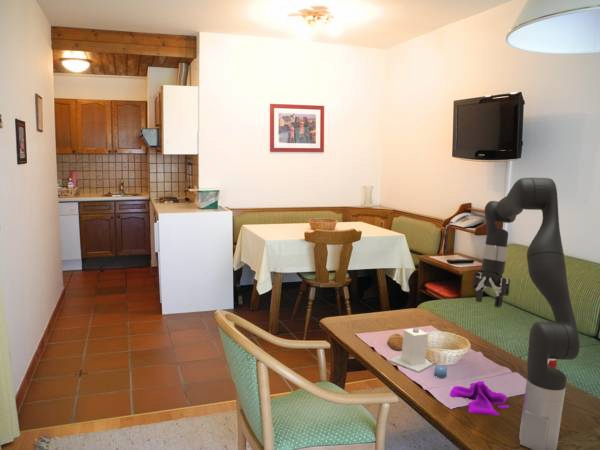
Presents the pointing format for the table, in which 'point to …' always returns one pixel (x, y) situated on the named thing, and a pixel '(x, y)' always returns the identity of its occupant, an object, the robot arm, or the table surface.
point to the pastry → (395, 341)
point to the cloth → (480, 398)
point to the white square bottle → (414, 346)
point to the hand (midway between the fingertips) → (488, 304)
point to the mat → (415, 368)
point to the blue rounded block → (440, 371)
